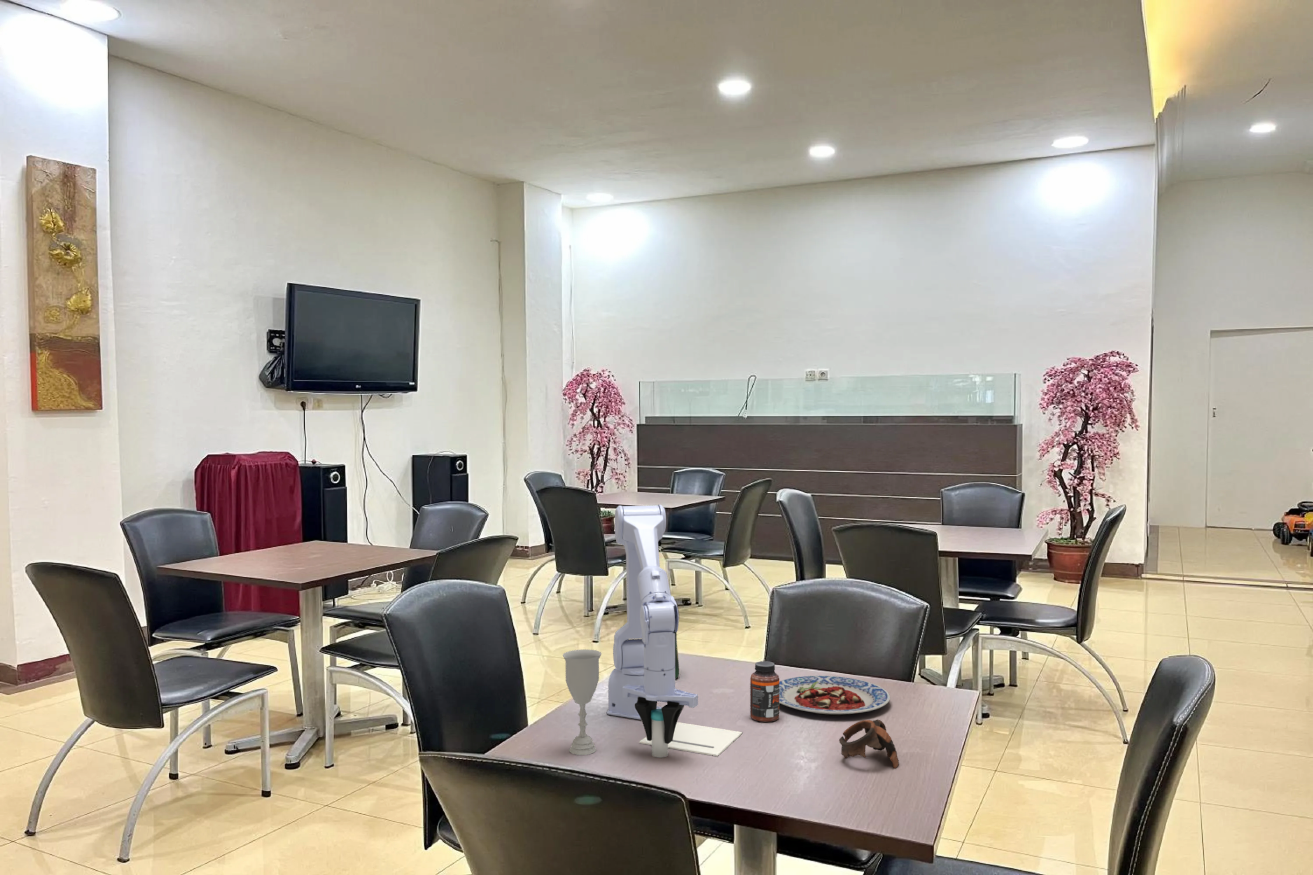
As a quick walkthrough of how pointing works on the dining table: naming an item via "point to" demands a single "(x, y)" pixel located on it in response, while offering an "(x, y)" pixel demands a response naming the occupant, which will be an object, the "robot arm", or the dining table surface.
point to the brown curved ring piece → (868, 740)
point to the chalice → (582, 691)
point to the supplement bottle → (764, 692)
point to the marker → (658, 734)
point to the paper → (700, 739)
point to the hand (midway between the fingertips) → (659, 740)
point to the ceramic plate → (831, 695)
